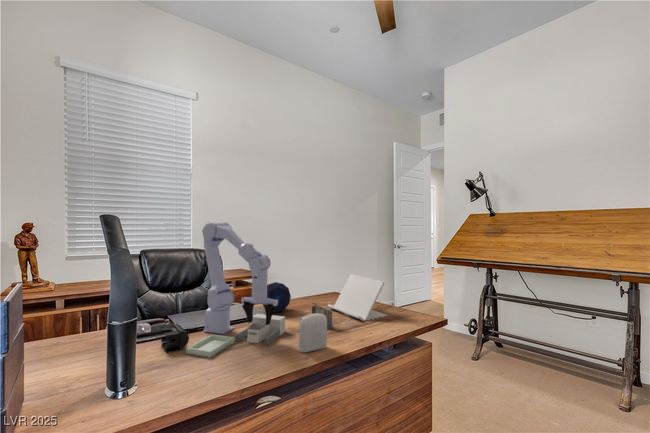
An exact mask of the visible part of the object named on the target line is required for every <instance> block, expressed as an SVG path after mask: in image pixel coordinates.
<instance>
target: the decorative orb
mask: <svg viewBox="0 0 650 433" xmlns="http://www.w3.org/2000/svg"><path fill="white" fill-rule="evenodd" d="M267 298H270V299H274V300H278V305H277V306H276V308H275V310H274V312H273V313H275V314H277V313H280V312H283V311H285V310H286V308H288V306H289V304H290V301H291V298H292V296H291V292H290V288H289V287H287V286H286V285H285V284H284V283H281V282H276V281H274V282H272V283H267ZM266 306H268V305H263V304H262V307H263V308H265V307H266Z"/></svg>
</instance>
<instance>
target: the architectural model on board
mask: <svg viewBox="0 0 650 433" xmlns="http://www.w3.org/2000/svg"><path fill="white" fill-rule="evenodd" d="M311 304H312V306H311V314H315V313H319V314H323V315H325V316H326V318H327V330H331V329H333V310H330V309H327V308H325V307H322V306H319V304H317V303H316V302H313V301H311Z"/></svg>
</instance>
